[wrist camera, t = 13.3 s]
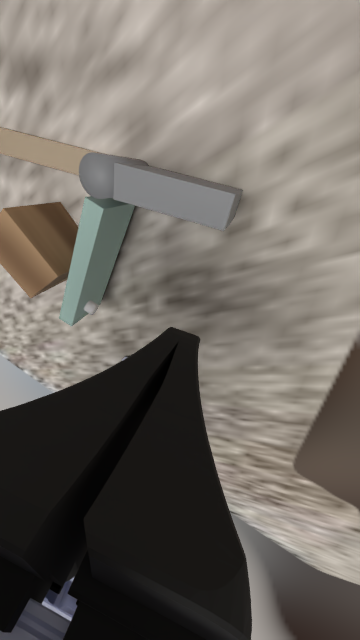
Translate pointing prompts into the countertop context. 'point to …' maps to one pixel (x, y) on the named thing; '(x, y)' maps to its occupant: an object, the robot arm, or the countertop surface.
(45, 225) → the block
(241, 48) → the countertop surface
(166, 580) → the robot arm
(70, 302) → the pale green long block
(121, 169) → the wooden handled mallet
